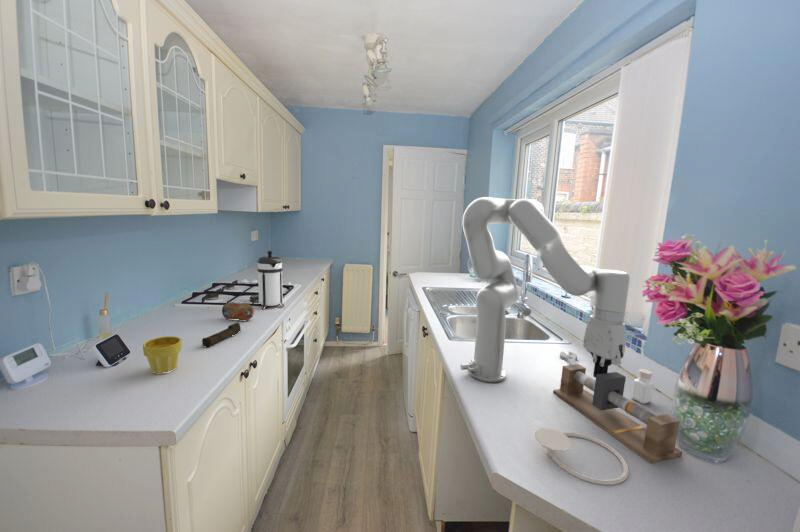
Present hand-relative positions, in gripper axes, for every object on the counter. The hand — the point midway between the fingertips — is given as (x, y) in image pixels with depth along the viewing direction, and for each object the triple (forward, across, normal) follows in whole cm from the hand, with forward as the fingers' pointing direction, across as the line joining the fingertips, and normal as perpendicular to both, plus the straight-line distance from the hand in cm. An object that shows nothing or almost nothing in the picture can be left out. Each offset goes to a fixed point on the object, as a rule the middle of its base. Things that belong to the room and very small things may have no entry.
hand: (599, 377), depth 101 cm
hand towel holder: (+11, +14, -20) cm, 27 cm away
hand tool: (+10, -80, -109) cm, 136 cm away
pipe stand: (+10, +5, 0) cm, 11 cm away
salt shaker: (+10, -1, +19) cm, 22 cm away
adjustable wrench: (+11, -26, +15) cm, 32 cm away
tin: (+10, -104, -106) cm, 149 cm away
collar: (+7, +3, 0) cm, 8 cm away
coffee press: (+10, -127, -94) cm, 158 cm away
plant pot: (+10, -54, -123) cm, 135 cm away
